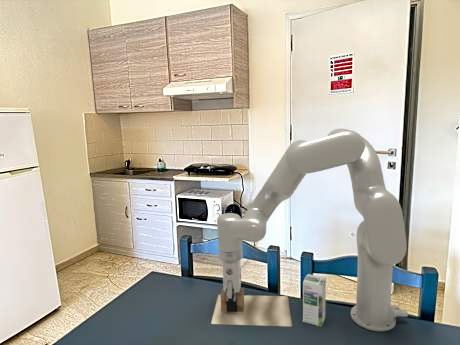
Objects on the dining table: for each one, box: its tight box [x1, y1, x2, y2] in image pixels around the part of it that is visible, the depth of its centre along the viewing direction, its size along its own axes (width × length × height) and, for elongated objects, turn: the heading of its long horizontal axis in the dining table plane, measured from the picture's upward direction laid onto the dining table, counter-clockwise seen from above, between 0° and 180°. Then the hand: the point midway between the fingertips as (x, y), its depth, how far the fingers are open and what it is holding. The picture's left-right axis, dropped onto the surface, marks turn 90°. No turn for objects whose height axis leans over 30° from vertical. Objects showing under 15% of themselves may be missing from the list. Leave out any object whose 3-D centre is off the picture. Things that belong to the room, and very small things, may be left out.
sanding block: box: [220, 286, 245, 313], centre depth 103 cm, size 7×5×6 cm
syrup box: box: [302, 273, 327, 328], centre depth 96 cm, size 6×6×14 cm
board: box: [210, 294, 293, 327], centre depth 103 cm, size 24×16×2 cm, turn 84°
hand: (232, 305), depth 103 cm, fingers closed on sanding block, 5 cm apart
